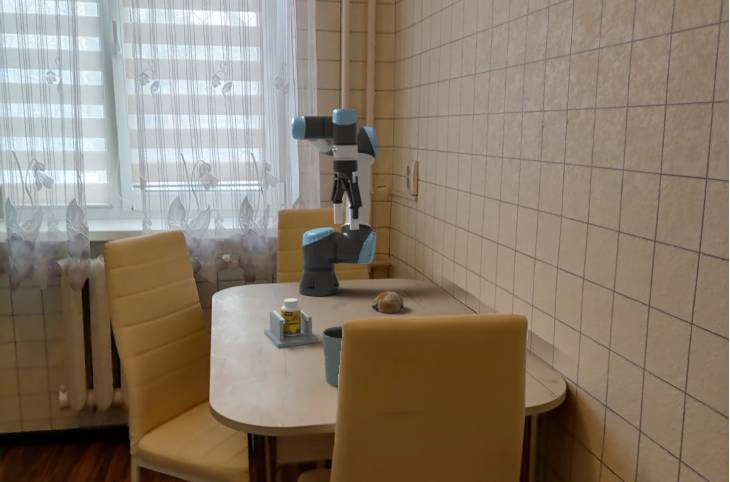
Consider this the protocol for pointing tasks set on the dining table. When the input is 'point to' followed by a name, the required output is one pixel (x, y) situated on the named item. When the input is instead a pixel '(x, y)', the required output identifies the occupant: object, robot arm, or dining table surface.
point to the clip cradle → (284, 341)
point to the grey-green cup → (332, 353)
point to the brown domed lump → (388, 302)
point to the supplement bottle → (291, 317)
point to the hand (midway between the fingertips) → (346, 226)
